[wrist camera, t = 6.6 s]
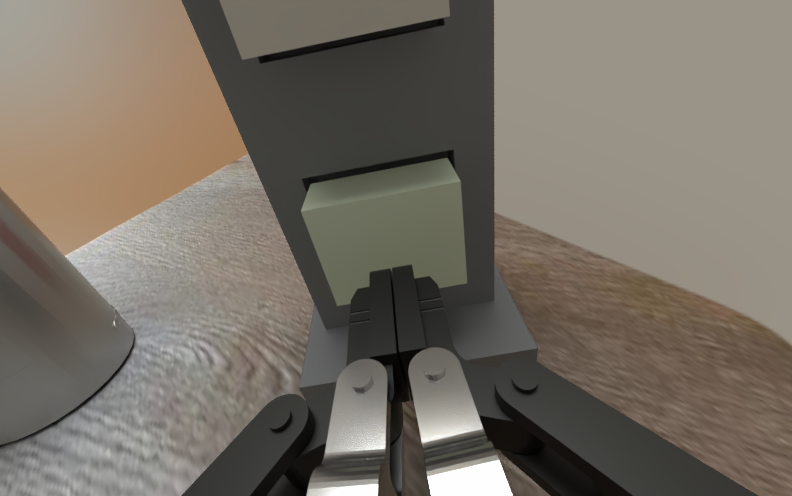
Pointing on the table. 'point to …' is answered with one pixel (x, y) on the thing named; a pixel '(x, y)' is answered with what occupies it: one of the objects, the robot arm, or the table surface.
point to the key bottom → (388, 225)
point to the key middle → (318, 21)
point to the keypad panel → (376, 153)
